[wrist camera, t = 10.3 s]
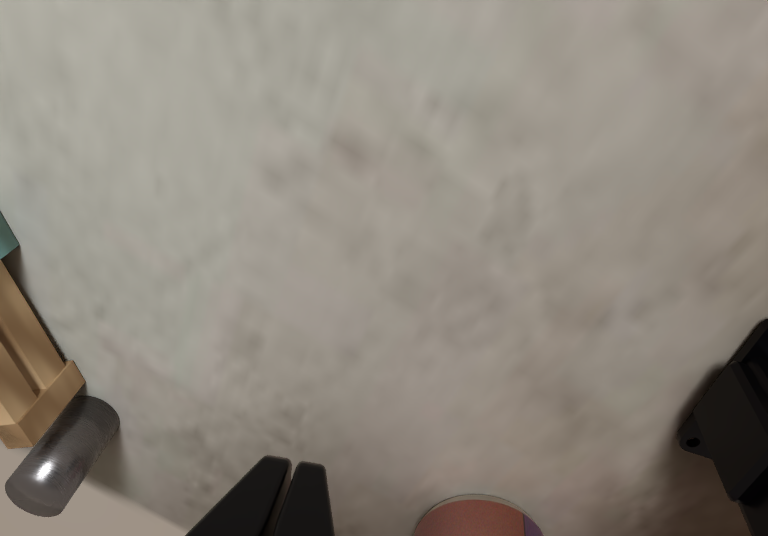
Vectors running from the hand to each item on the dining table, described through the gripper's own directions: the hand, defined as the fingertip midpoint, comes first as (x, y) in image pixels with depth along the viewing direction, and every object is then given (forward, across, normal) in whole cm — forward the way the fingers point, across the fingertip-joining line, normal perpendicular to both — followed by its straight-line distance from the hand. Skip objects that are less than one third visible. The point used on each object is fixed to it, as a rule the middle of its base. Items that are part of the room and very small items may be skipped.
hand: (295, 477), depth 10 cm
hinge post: (+13, +12, +14) cm, 23 cm away
